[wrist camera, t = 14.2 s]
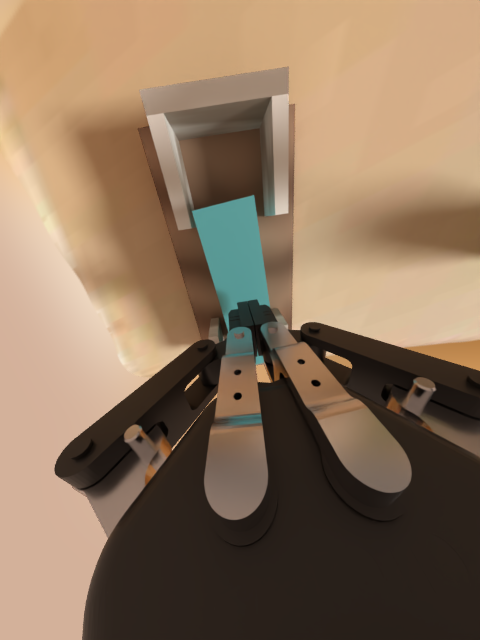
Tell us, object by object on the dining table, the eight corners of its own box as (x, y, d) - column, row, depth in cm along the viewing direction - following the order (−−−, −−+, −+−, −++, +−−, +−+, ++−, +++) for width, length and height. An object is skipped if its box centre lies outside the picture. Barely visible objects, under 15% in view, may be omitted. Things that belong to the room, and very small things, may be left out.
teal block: (202, 214, 16) (191, 210, 11) (244, 203, 16) (254, 195, 11) (235, 335, 23) (239, 368, 18) (265, 328, 23) (277, 359, 18)
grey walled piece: (145, 136, 14) (106, 94, 10) (288, 114, 14) (320, 61, 10) (206, 345, 25) (202, 373, 21) (288, 332, 25) (302, 357, 21)
